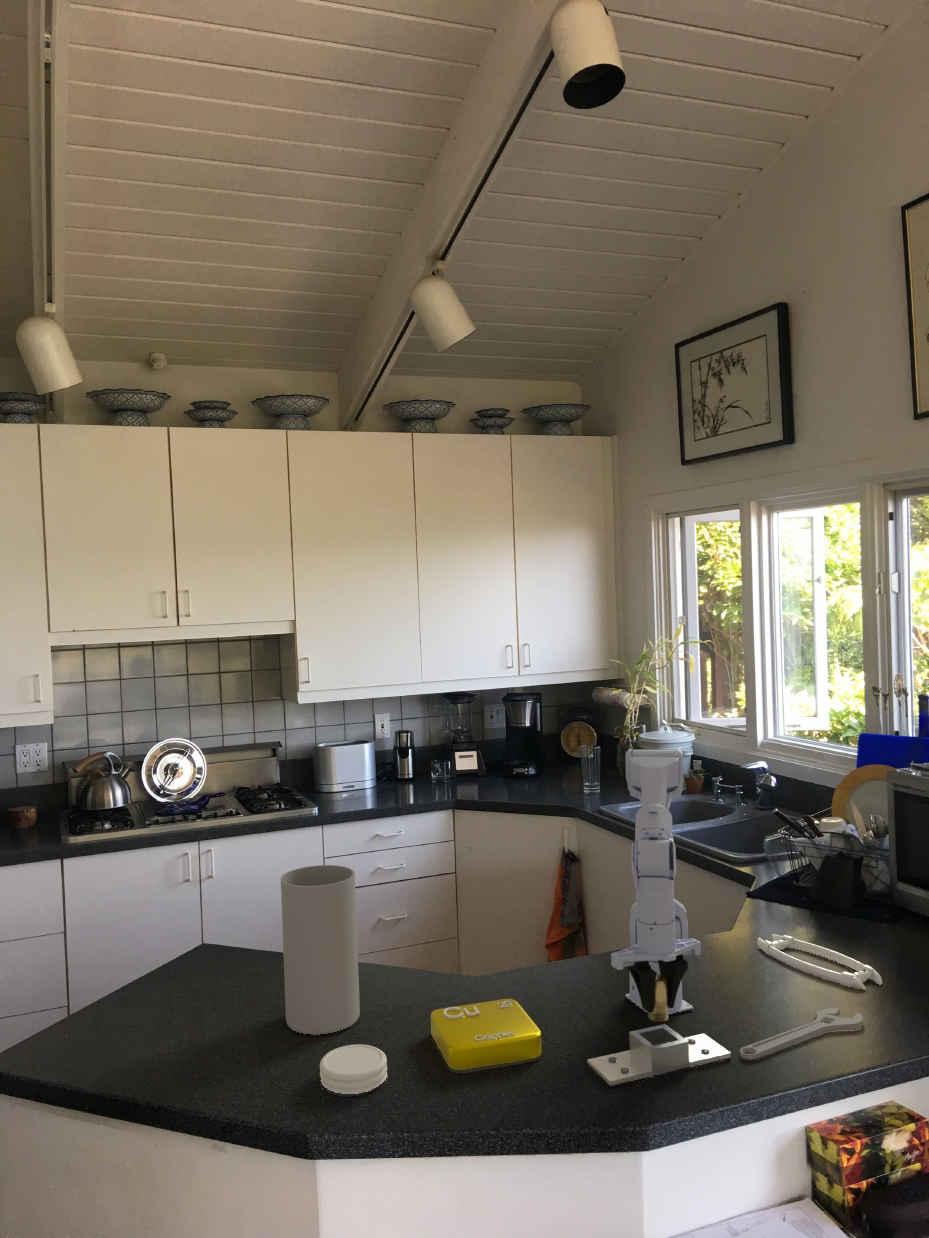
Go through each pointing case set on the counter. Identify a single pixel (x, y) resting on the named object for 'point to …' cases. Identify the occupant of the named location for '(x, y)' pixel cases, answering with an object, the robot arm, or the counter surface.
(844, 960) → the white tongs
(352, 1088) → the white end cap
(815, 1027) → the adjustable wrench
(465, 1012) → the element tile
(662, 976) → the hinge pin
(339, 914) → the cylinder vase
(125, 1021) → the counter surface
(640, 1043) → the mounting bracket
